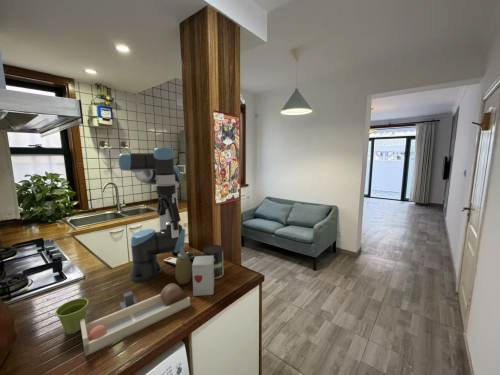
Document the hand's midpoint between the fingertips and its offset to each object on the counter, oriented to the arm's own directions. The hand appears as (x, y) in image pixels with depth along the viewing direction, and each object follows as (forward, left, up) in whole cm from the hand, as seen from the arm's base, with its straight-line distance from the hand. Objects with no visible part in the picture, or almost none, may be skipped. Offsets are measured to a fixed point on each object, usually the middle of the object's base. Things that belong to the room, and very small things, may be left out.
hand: (169, 233), depth 97 cm
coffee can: (-2, +23, -29) cm, 37 cm away
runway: (+8, -16, -29) cm, 34 cm away
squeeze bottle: (-6, +8, -29) cm, 31 cm away
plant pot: (-4, -35, -29) cm, 46 cm away
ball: (+10, -29, -26) cm, 40 cm away
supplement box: (+7, +12, -29) cm, 32 cm away
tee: (-5, -17, -29) cm, 34 cm away
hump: (+8, -3, -29) cm, 30 cm away
